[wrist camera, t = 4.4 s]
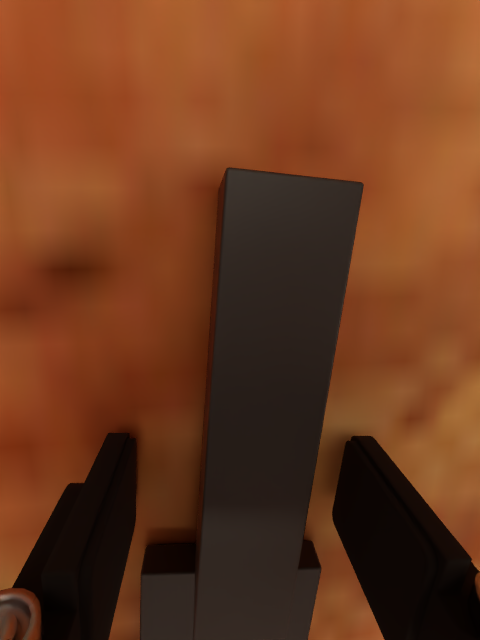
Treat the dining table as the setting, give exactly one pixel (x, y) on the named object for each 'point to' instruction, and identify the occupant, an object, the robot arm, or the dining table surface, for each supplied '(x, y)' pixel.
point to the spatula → (260, 413)
